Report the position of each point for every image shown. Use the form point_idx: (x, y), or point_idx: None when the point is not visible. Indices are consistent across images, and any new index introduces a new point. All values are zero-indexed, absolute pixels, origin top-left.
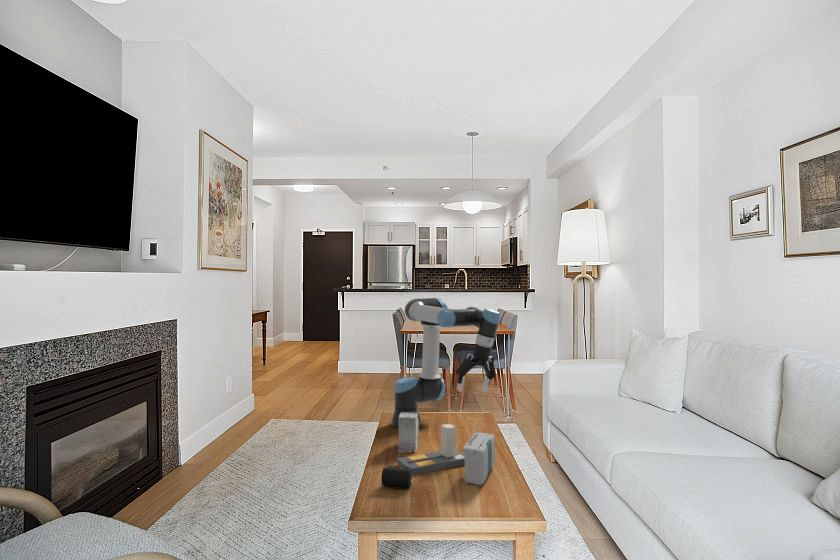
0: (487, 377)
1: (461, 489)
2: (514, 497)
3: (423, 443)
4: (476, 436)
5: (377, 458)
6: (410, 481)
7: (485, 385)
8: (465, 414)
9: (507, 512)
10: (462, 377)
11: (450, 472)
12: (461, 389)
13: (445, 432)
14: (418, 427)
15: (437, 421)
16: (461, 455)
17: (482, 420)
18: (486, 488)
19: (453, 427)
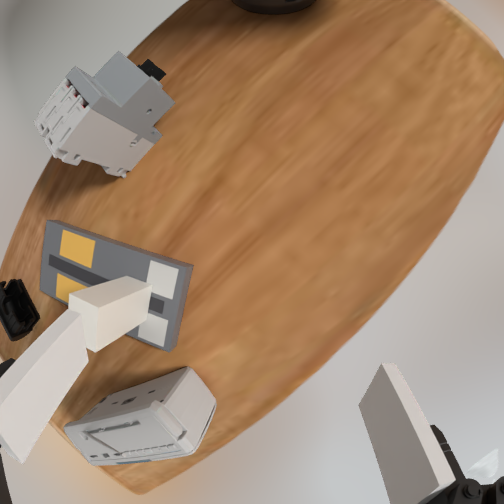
0: (439, 495)
1: (92, 400)
2: (149, 470)
3: (193, 123)
4: (128, 427)
5: (53, 158)
6: (25, 333)
7: (385, 444)
8: (478, 44)
9: (114, 471)
10: (2, 438)
11: (112, 342)
12: (73, 374)
13: None
14: (157, 98)
15: (378, 14)
16: (164, 327)
17: (493, 107)
18: None
19: (88, 348)
